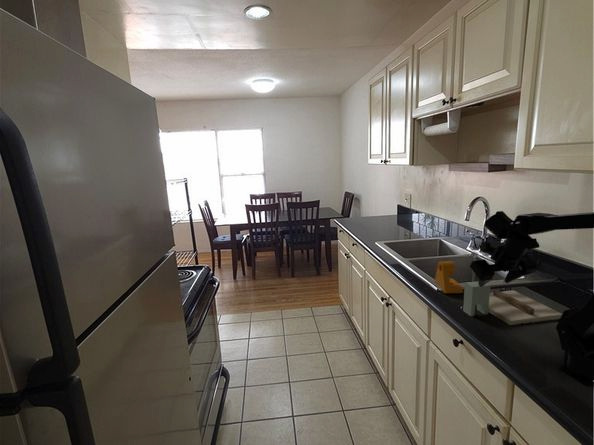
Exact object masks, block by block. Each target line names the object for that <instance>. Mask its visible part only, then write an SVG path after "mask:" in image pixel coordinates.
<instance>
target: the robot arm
mask: <svg viewBox="0 0 594 445" xmlns="http://www.w3.org/2000/svg"><path fill="white" fill-rule="evenodd" d="M483 224H484V227H485V228H486V229H487V230H488V231H489V232H490V233H491V234H492V235H493V236H494V237H496V238H497V239H498V240H496V239H493V240H485V241H484V240H483V241H481V243H480V244H479V248H478V249H479V251H481V252H482V253H484V254H487V255H490V256H489V259H491V261H493V262H494V263H492V264H489V262H488V261H487V260H486V259H475V260H471V263H470V264H469V268H470V269H471V270H472V272H473V273H474V274H475V275H476V276H477V281H478V285H479V286H480V287H482V286H484V285H485V284H486V283H487V284H489V282H491V281H492V280H493V278H494V276H495V273H499V272H504V273H505V272H507V274H506V276H505V278H504V282H505V284H509V283H511V282H513V281H515V280H518V279H520V278H522V277H525V276H528V275H531V274H533V273H536V272H537V270H538V264H537V263H536V262H535V261H534V260H533V258H532V257H530V255H528V253H526V252H527V251H529V250H534V249H538V248H540V243H539V242H538V240H537V238H535V237H534V238H533V237H532V236H530V235H538V234H539V235H540V234H544V233H548V232H553V231H559V230H561V231H563V230H565V231H566V230H581V229H582V230H587V229H594V211H591V212H579V213H570V214H569V213H568V214H553V213H545V212H532V213H524V214H523V213H522V214H518V215H517V216H516V217H515V219H514V220H513V219H512V218H511V217H509V216H508V215H507V214H506V213H505V212H504V211H503V210H500V211H496V212H495V214H492V215H491V216H489V218H488V219H486V220H485V222H484V223H483ZM503 239H504V242H501V241H499V240H503ZM561 314H562V316H561V318H560V319H555V322H556V323H557V324H556V326H555V330H556V331H557V332H556V333H557V334H558V339H559V342H560V346H561V347H560V348H561V349H562V350H563V351H564V354H563V360H562V361H563V362H562V363H563V364H559V365H558V369H560V370H561V371H563V372H564V373H566V374H567V375H569V376H571V377H572V378H573V379H575V380H577V381H578V382H580V383H581V384H583V385H586V384H591V383H590V382H592V381H593V380H594V292H593V293H592V294H591V296H589V298H588V299H587V301H586V302H585V303H584V304H583V305H582V306H578V307H574V308H569V309H565V310H563V312H562V313H561Z"/></svg>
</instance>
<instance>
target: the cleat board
mask: <svg viewBox="0 0 594 445" xmlns="http://www.w3.org/2000/svg"><path fill="white" fill-rule="evenodd" d="M488 313H490V314H492V315H493V316H495V317H496V318H497V319H499V320H501V321H503V322H504V323H505V324H507V325H509V326H513V325H515V326H516V325H522V324H521V323H523V324H529V323H530V322H531V323H536V322H537V323H538V322H546V321H553V320H558V319H560V318H561V316H562V314H563V313H561V312H559V311H557V310H554V309H552V308H550V307H549V306H547V305H545V304H543V303H541V302H538V301H536V300H534V299H532V298H531V297H528V296H526V295H524V294H522V293H519V292H518V291H516V290H514V289H513V290H505V291H501V290H499V289H494V290H493V292H490V297H489V310H488Z"/></svg>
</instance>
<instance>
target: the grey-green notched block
mask: <svg viewBox="0 0 594 445" xmlns="http://www.w3.org/2000/svg"><path fill="white" fill-rule="evenodd" d="M463 293H464V294H463V309H462V310H463V311H462V312H464V313H466V314H467V315H468V316H470V317H475V312H476V311H475V309H476V310H477V311H479V312H480V313H482V314H483V315H489V312H488V310H489V297H490V293H491V285H490V284H489V283H486V284H485V285H484V286H482V287H480V286H479V285H478V280H477V281H471V282H470V281H467V282H464V288H463Z"/></svg>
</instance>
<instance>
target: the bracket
mask: <svg viewBox="0 0 594 445" xmlns="http://www.w3.org/2000/svg"><path fill="white" fill-rule="evenodd" d="M455 272H456V266H455V263H454V261H453V260H445V261H443V260H441V261H438V264H437V268H436V274H435V278H434V283H435V282H436V283H437V284H438V285H439V286H440V287H441V288H442V291H443V292H442V293H444V294H463V293H464V288H463V286H462V285H461V284H460V283H459V282H458V281H456V279H454V278H451V277H450V276H451V275H453V276H454V275H455ZM436 283H435V284H436Z"/></svg>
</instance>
